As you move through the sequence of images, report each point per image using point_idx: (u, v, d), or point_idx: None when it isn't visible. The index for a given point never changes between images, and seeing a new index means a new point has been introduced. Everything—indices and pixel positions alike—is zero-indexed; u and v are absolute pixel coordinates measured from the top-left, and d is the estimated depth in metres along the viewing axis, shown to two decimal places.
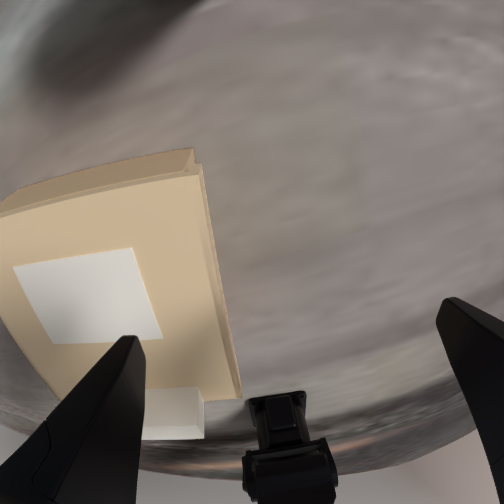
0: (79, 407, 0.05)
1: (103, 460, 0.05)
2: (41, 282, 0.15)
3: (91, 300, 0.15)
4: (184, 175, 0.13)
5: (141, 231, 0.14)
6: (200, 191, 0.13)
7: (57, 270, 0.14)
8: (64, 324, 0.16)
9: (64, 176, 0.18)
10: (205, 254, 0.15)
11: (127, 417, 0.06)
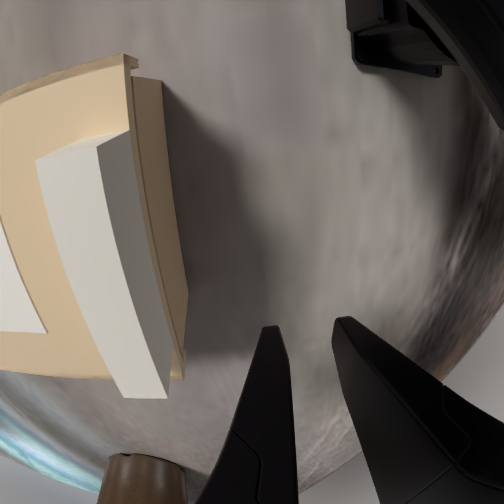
0: (268, 406, 0.05)
1: None
2: None
3: None
4: None
5: None
6: None
7: None
8: (10, 304, 0.12)
9: None
10: None
11: None
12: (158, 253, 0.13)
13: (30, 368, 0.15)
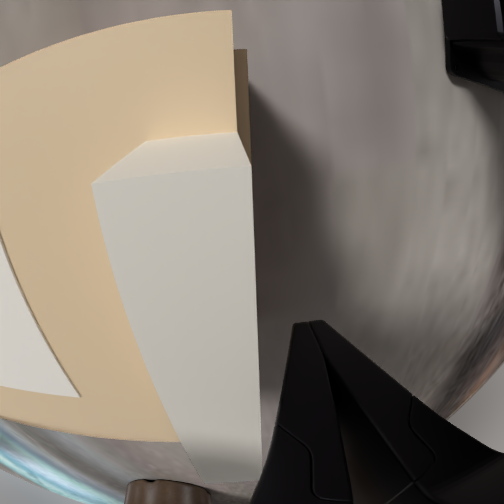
0: (310, 400, 0.05)
1: None
2: None
3: None
4: None
5: None
6: None
7: None
8: (27, 364, 0.09)
9: None
10: None
11: None
12: (256, 302, 0.10)
13: (54, 426, 0.12)
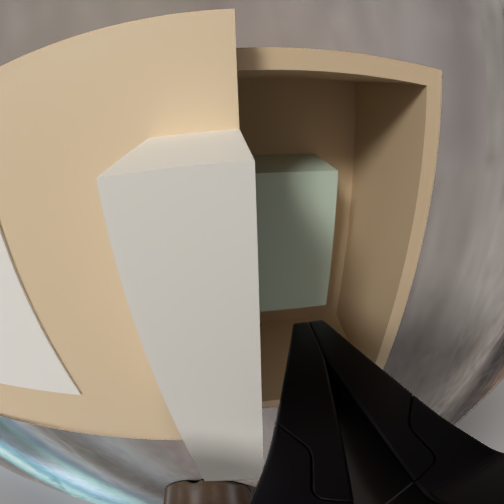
0: (310, 400, 0.05)
1: None
2: None
3: None
4: None
5: None
6: None
7: None
8: (28, 361, 0.09)
9: None
10: None
11: None
12: None
13: (55, 424, 0.12)
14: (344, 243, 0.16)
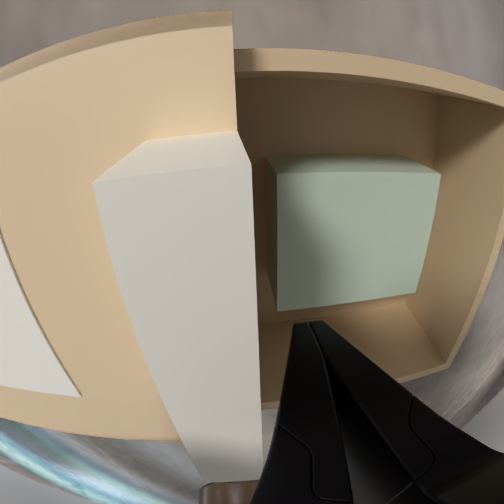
0: (310, 400, 0.05)
1: None
2: None
3: None
4: None
5: None
6: None
7: None
8: (28, 363, 0.09)
9: None
10: None
11: None
12: None
13: (55, 425, 0.12)
14: None
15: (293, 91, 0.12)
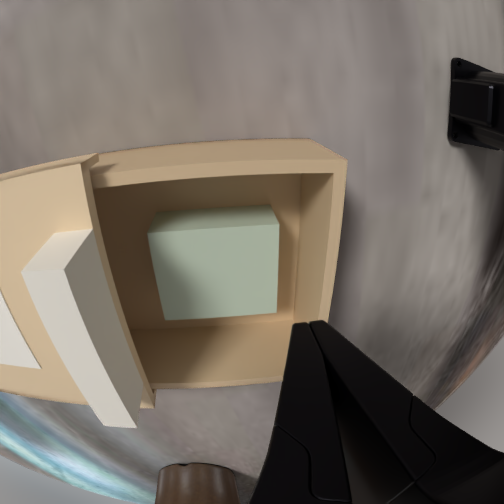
0: (309, 400, 0.05)
1: None
2: None
3: None
4: None
5: None
6: None
7: None
8: (9, 345, 0.14)
9: None
10: None
11: None
12: None
13: (28, 393, 0.17)
14: (295, 267, 0.22)
15: None
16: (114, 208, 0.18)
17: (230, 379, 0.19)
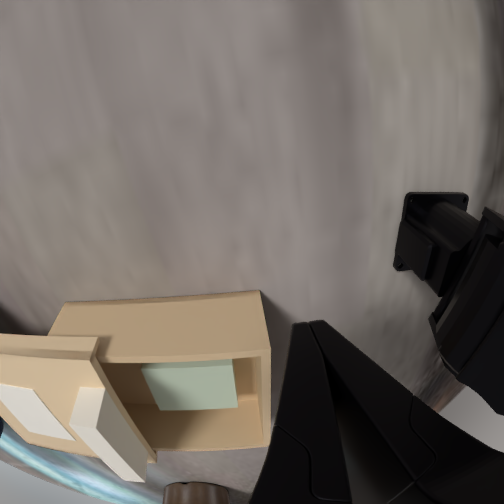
0: (309, 400, 0.05)
1: None
2: (30, 424, 0.20)
3: (24, 409, 0.19)
4: None
5: None
6: None
7: (16, 414, 0.19)
8: (52, 428, 0.20)
9: None
10: None
11: None
12: None
13: (64, 450, 0.23)
14: (254, 370, 0.27)
15: None
16: None
17: (207, 447, 0.25)
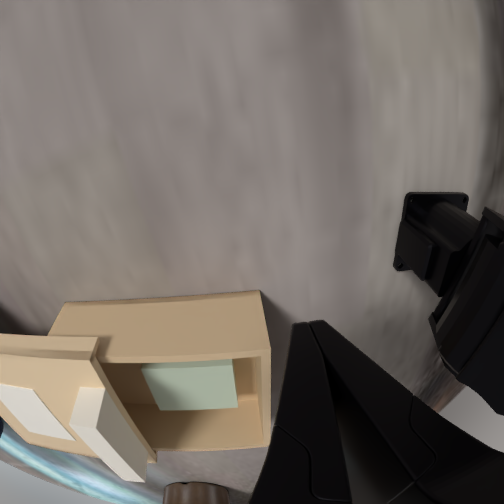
0: (309, 400, 0.05)
1: None
2: (30, 424, 0.20)
3: (24, 409, 0.19)
4: None
5: None
6: None
7: (16, 414, 0.19)
8: (52, 428, 0.20)
9: None
10: None
11: None
12: None
13: (64, 450, 0.23)
14: (254, 370, 0.27)
15: None
16: None
17: (207, 447, 0.25)
